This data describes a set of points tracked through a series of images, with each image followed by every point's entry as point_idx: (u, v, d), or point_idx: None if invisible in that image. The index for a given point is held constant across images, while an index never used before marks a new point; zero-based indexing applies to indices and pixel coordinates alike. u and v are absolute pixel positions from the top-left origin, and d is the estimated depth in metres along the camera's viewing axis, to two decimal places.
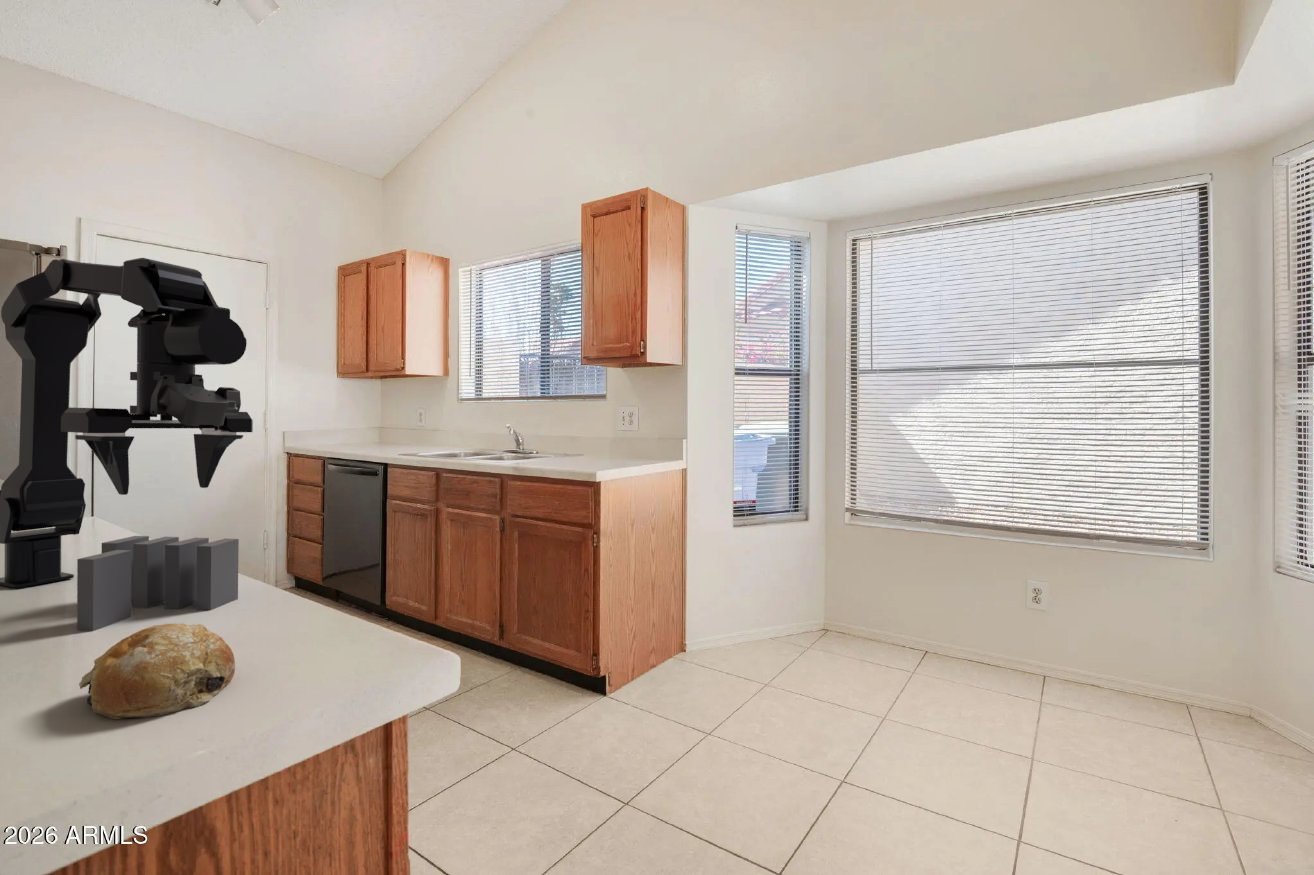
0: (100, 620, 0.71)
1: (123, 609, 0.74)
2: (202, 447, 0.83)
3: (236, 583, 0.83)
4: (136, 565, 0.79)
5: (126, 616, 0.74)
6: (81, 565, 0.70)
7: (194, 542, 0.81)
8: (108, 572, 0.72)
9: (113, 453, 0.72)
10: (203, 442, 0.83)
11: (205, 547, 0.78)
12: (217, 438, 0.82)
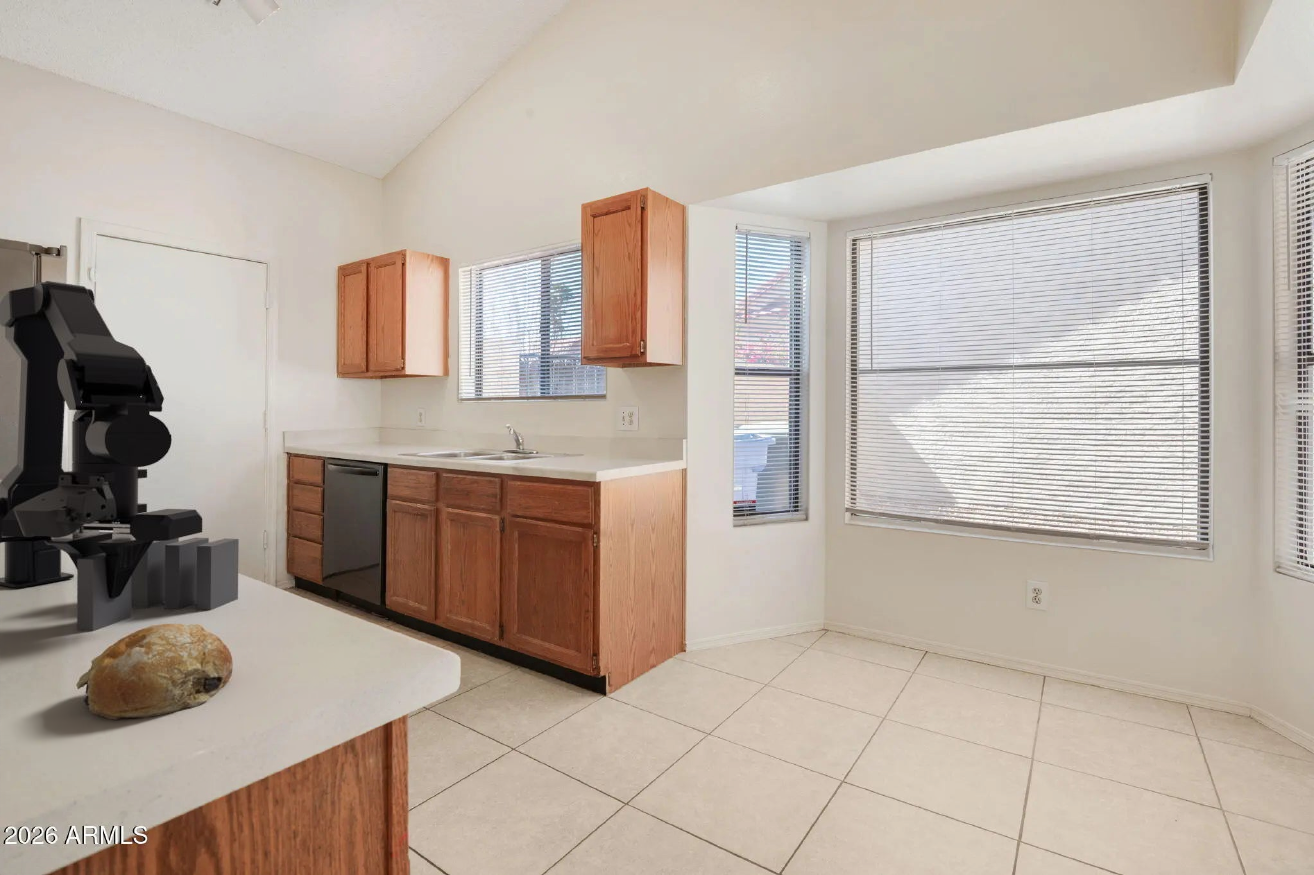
0: (100, 620, 0.71)
1: (123, 609, 0.74)
2: None
3: (236, 583, 0.83)
4: None
5: (126, 616, 0.74)
6: (81, 565, 0.70)
7: (194, 542, 0.81)
8: None
9: None
10: None
11: (205, 547, 0.78)
12: None
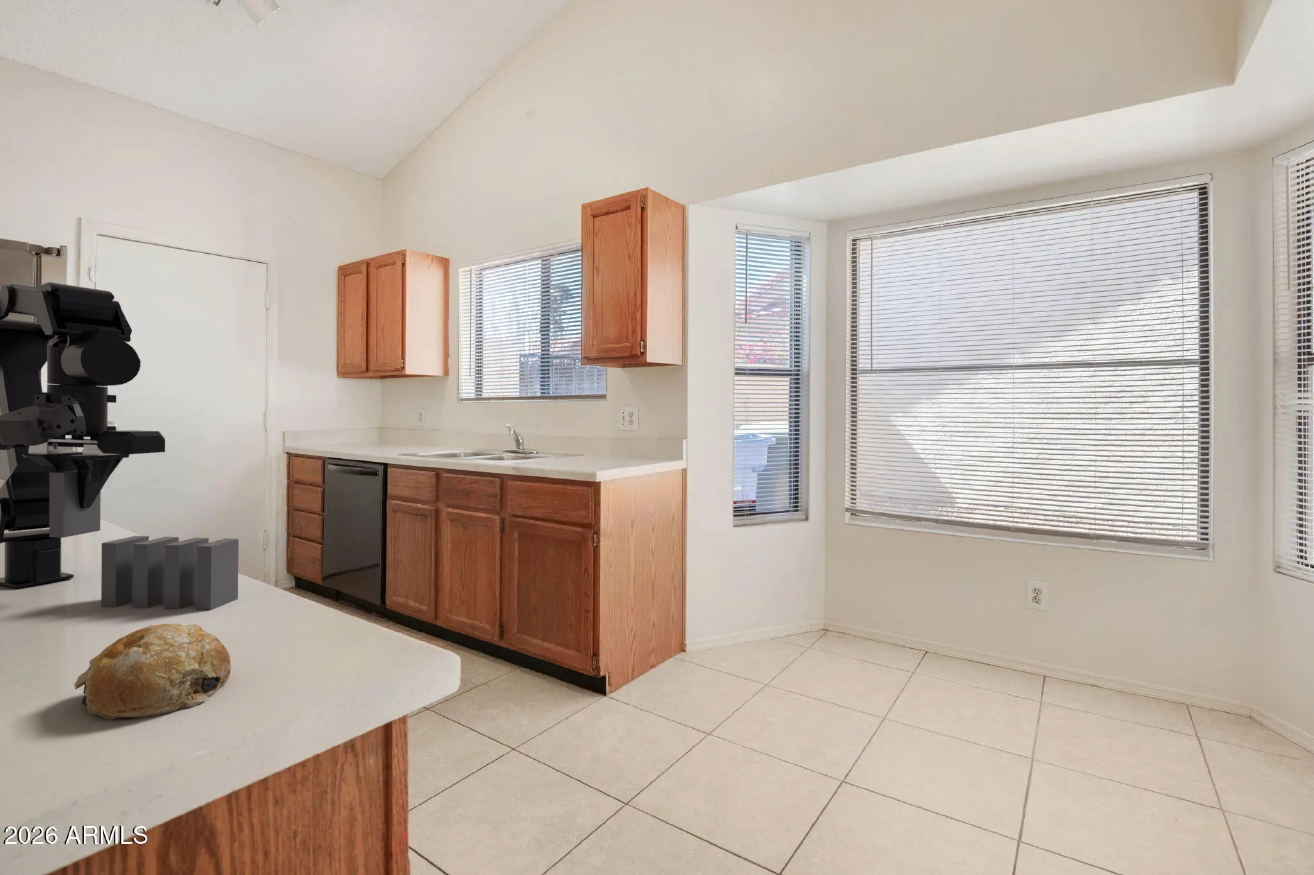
0: (70, 529, 0.79)
1: (92, 522, 0.82)
2: None
3: (236, 583, 0.83)
4: (136, 565, 0.79)
5: (95, 528, 0.82)
6: (52, 478, 0.78)
7: (194, 542, 0.81)
8: (77, 486, 0.80)
9: (45, 469, 0.79)
10: None
11: (205, 547, 0.78)
12: None
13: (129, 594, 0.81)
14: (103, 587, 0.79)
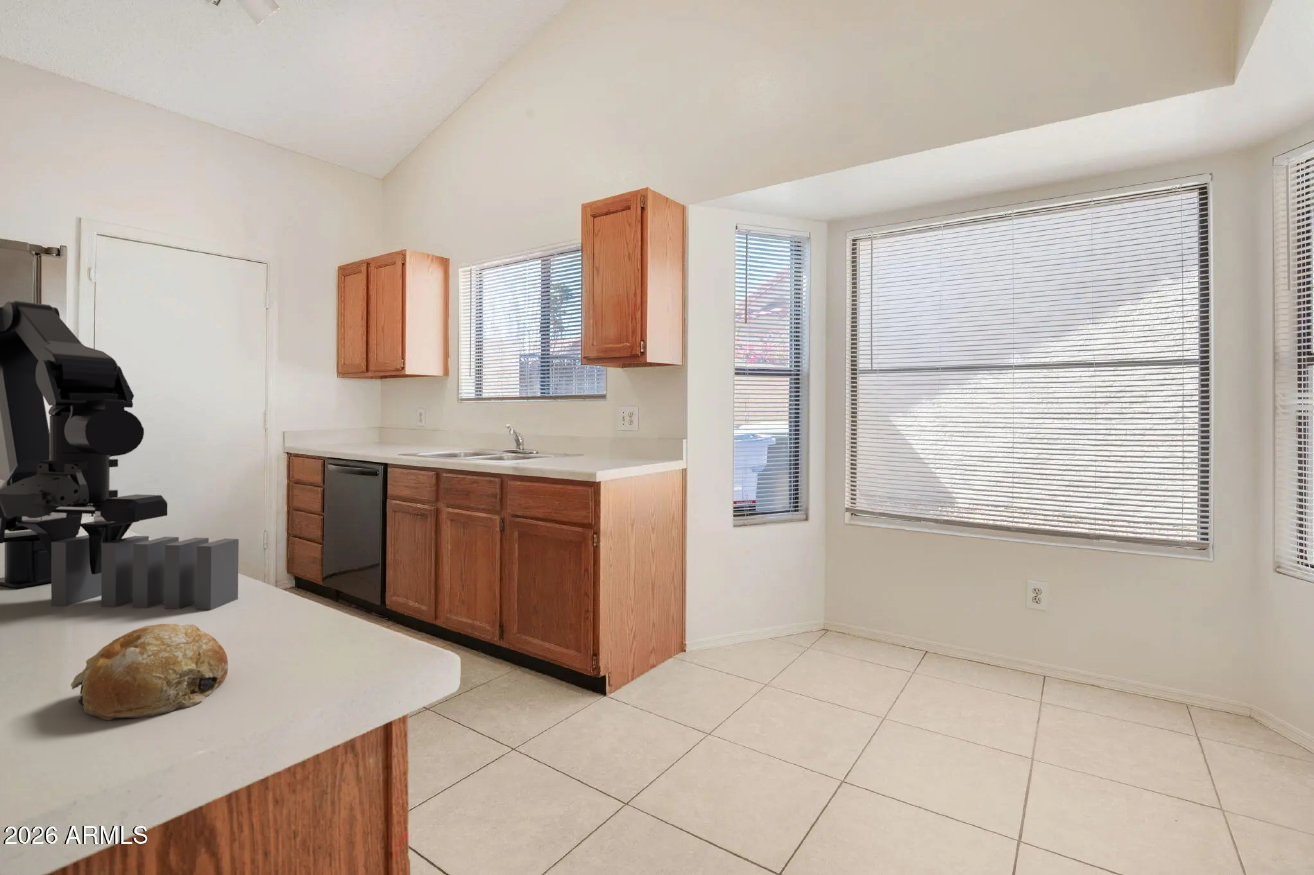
0: (72, 597, 0.79)
1: (94, 588, 0.82)
2: None
3: (236, 583, 0.83)
4: (136, 565, 0.79)
5: (96, 594, 0.83)
6: (54, 548, 0.78)
7: (194, 542, 0.81)
8: (79, 554, 0.80)
9: (38, 535, 0.80)
10: None
11: (205, 547, 0.78)
12: None
13: (129, 594, 0.81)
14: (103, 587, 0.79)
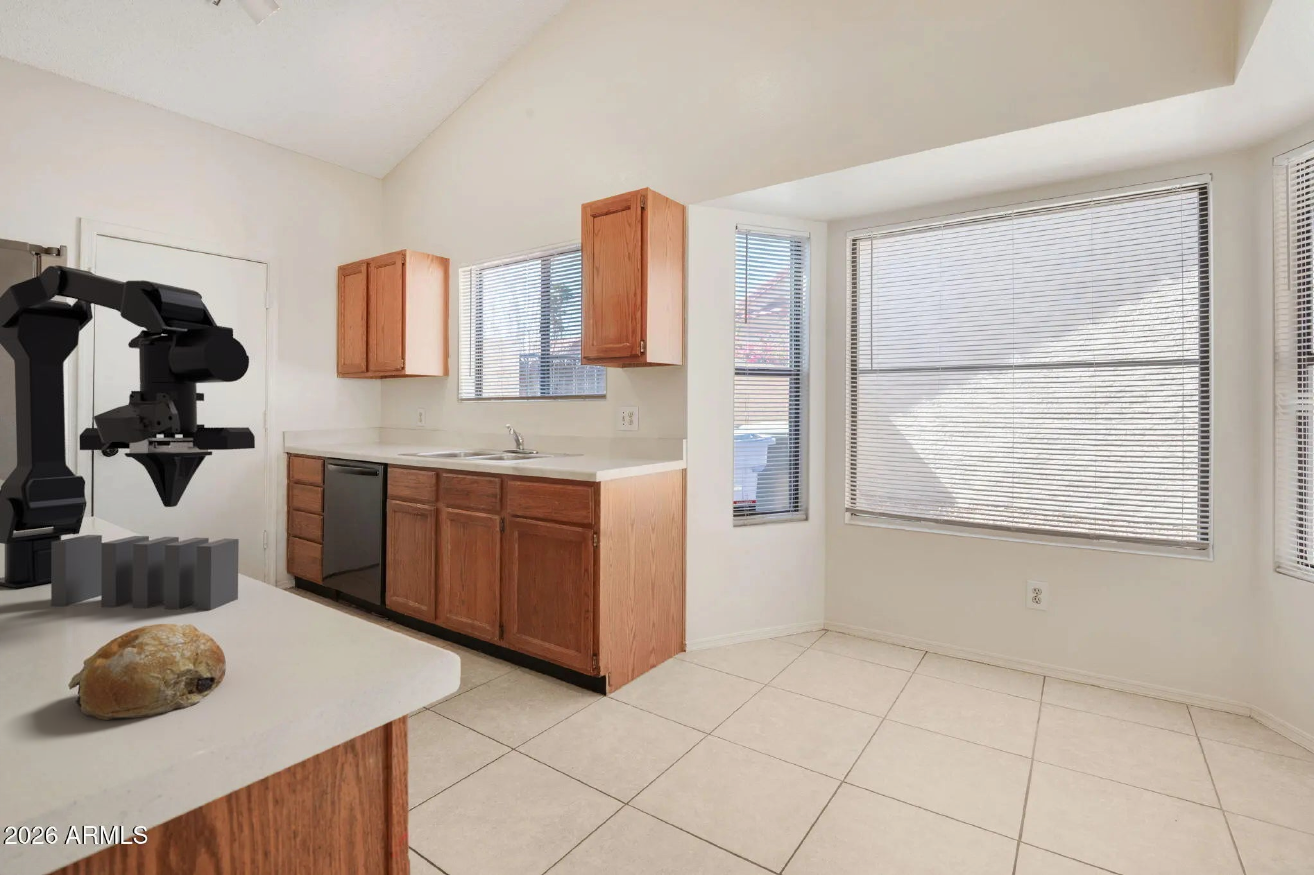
0: (72, 597, 0.79)
1: (94, 588, 0.82)
2: None
3: (236, 583, 0.83)
4: (136, 565, 0.79)
5: (96, 594, 0.83)
6: (54, 548, 0.78)
7: (194, 542, 0.81)
8: (79, 554, 0.80)
9: (145, 468, 0.79)
10: None
11: (205, 547, 0.78)
12: None
13: (129, 594, 0.81)
14: (103, 587, 0.79)
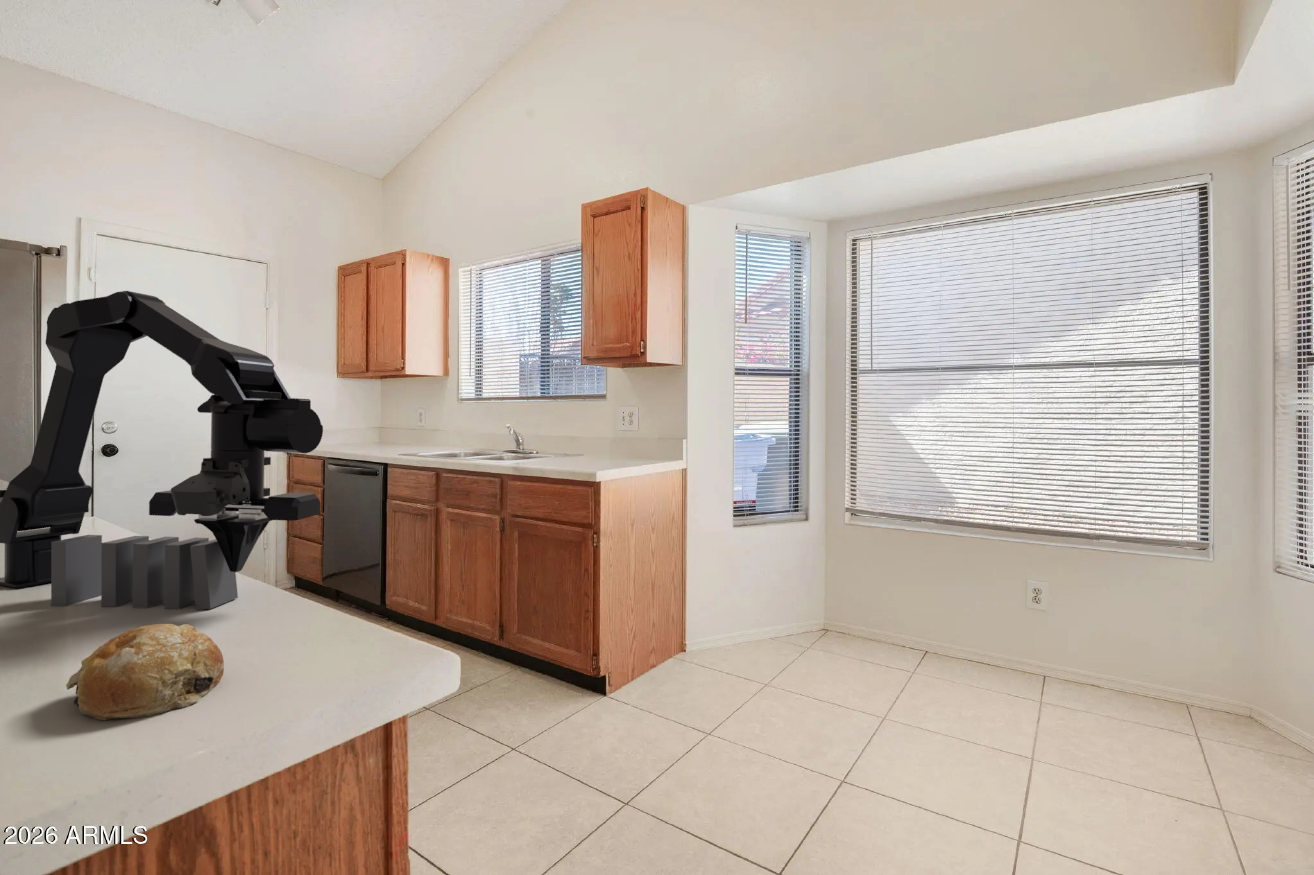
0: (72, 597, 0.79)
1: (94, 588, 0.82)
2: None
3: (234, 582, 0.83)
4: (136, 565, 0.79)
5: (96, 594, 0.83)
6: (54, 548, 0.78)
7: (194, 542, 0.81)
8: (79, 554, 0.80)
9: None
10: None
11: (198, 546, 0.78)
12: None
13: (129, 594, 0.81)
14: (103, 587, 0.79)
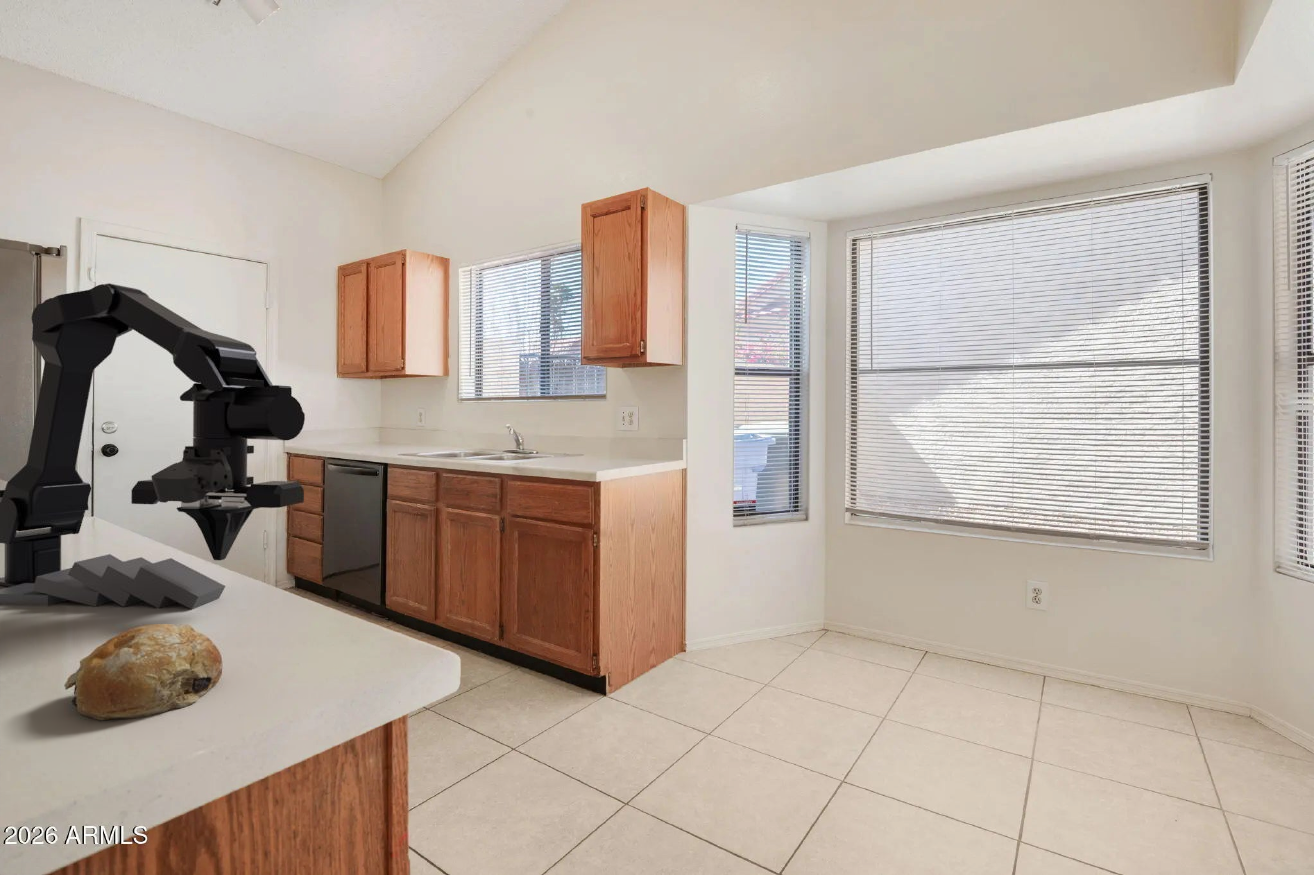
0: None
1: None
2: None
3: (209, 579, 0.83)
4: (87, 582, 0.79)
5: None
6: None
7: (125, 561, 0.81)
8: (14, 589, 0.80)
9: (196, 522, 0.79)
10: None
11: (139, 572, 0.78)
12: None
13: None
14: (77, 599, 0.79)
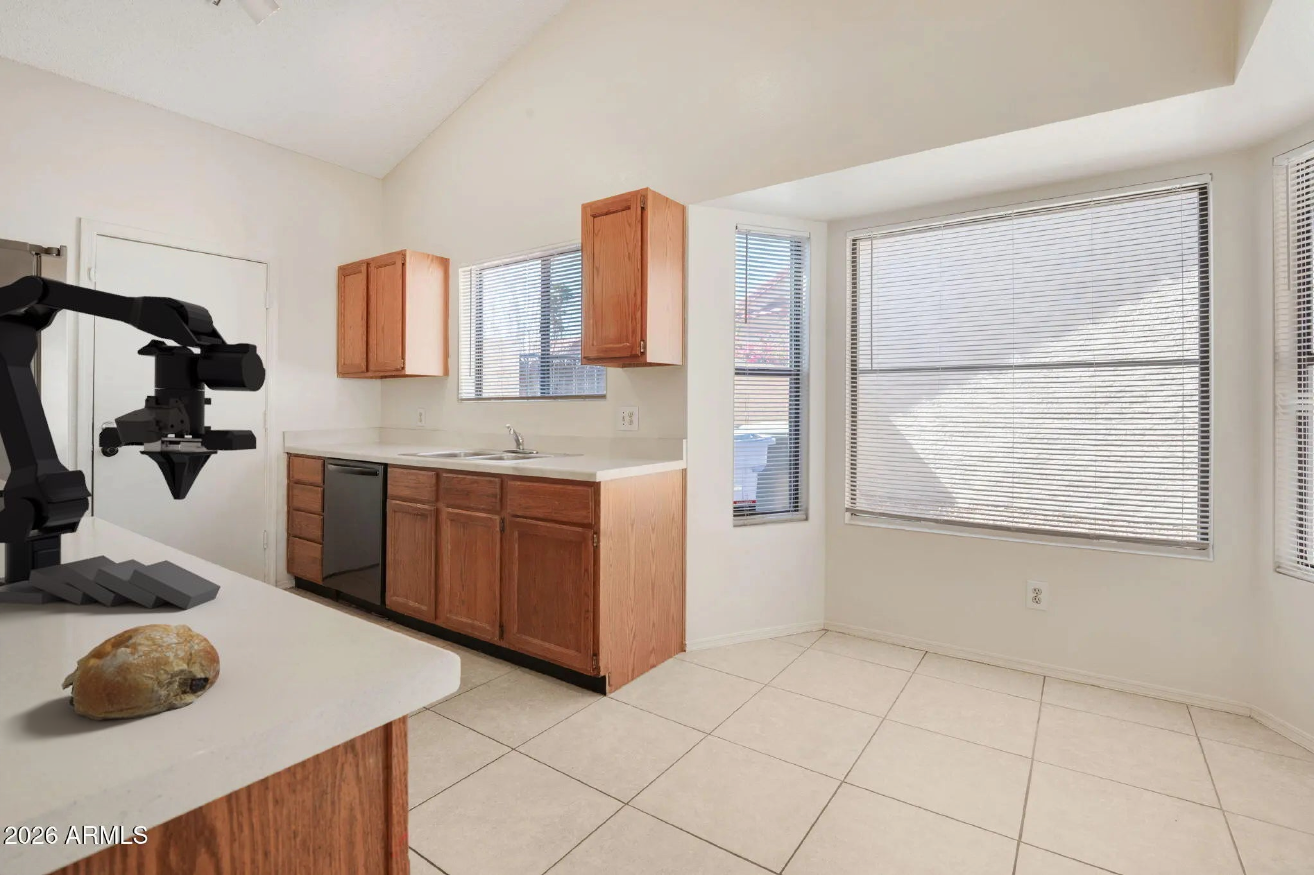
0: (42, 591, 0.80)
1: None
2: None
3: (204, 580, 0.83)
4: (76, 583, 0.79)
5: None
6: None
7: (117, 563, 0.81)
8: (12, 587, 0.81)
9: (158, 465, 0.88)
10: None
11: (133, 575, 0.78)
12: None
13: None
14: (64, 596, 0.79)
